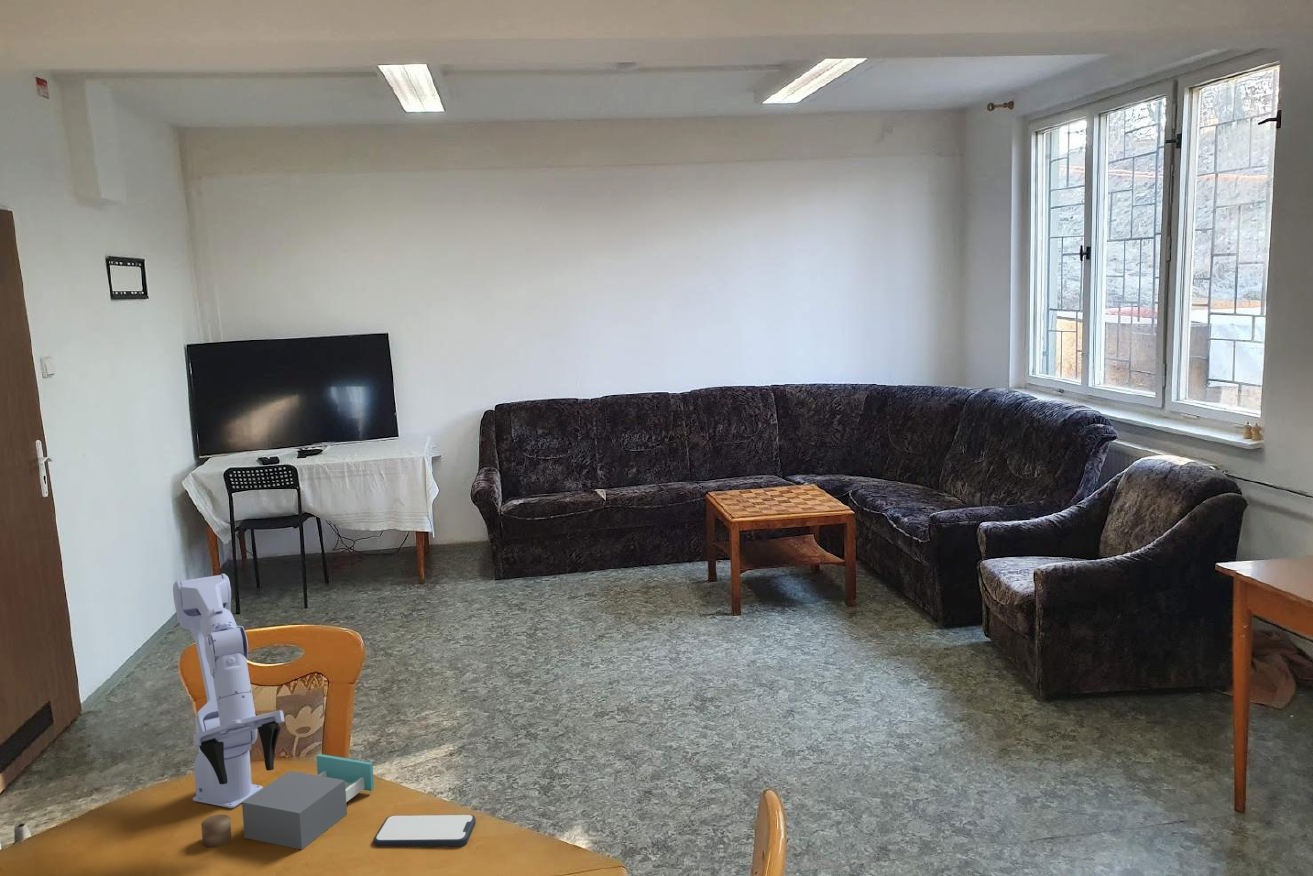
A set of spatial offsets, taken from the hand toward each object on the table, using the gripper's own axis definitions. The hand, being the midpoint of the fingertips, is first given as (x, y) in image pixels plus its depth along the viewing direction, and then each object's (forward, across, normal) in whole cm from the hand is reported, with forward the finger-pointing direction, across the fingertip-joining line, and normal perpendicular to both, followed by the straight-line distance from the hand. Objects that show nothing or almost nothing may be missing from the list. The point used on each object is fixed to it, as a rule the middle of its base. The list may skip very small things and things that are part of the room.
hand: (246, 777), depth 164 cm
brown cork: (+8, -8, +6) cm, 13 cm away
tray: (+6, +9, +15) cm, 19 cm away
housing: (+10, +4, +9) cm, 14 cm away
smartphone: (+18, +26, +4) cm, 32 cm away
